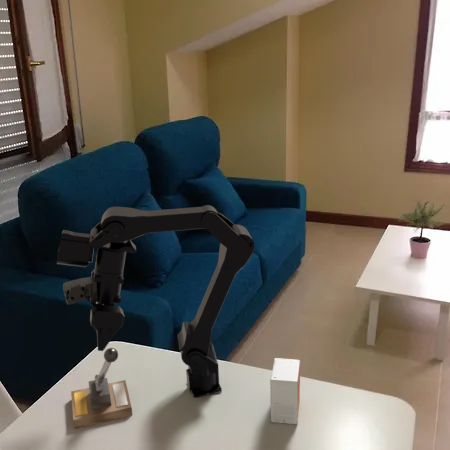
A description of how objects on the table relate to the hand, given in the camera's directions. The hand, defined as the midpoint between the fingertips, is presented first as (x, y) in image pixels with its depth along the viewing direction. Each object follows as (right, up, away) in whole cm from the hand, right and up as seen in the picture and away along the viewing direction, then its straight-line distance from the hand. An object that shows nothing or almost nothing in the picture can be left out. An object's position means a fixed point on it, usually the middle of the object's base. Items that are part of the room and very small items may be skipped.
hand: (98, 340), depth 112 cm
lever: (-1, -10, +3) cm, 11 cm away
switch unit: (-1, -16, +5) cm, 16 cm away
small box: (+39, -16, +2) cm, 42 cm away
